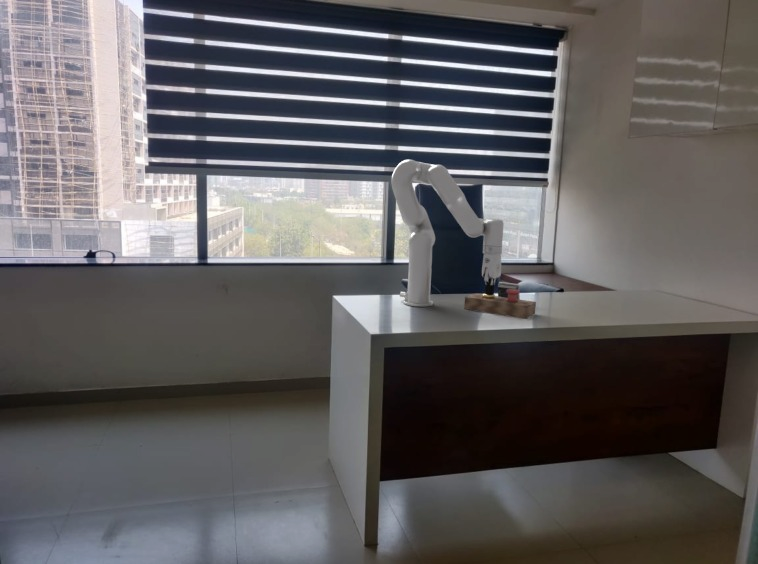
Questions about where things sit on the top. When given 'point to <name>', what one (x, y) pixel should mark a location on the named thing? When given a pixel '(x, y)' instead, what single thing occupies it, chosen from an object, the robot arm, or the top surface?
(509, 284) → the electrical switch
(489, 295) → the brass plug
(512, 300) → the oxblood plug
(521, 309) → the plug block
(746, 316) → the top surface
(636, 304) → the top surface
